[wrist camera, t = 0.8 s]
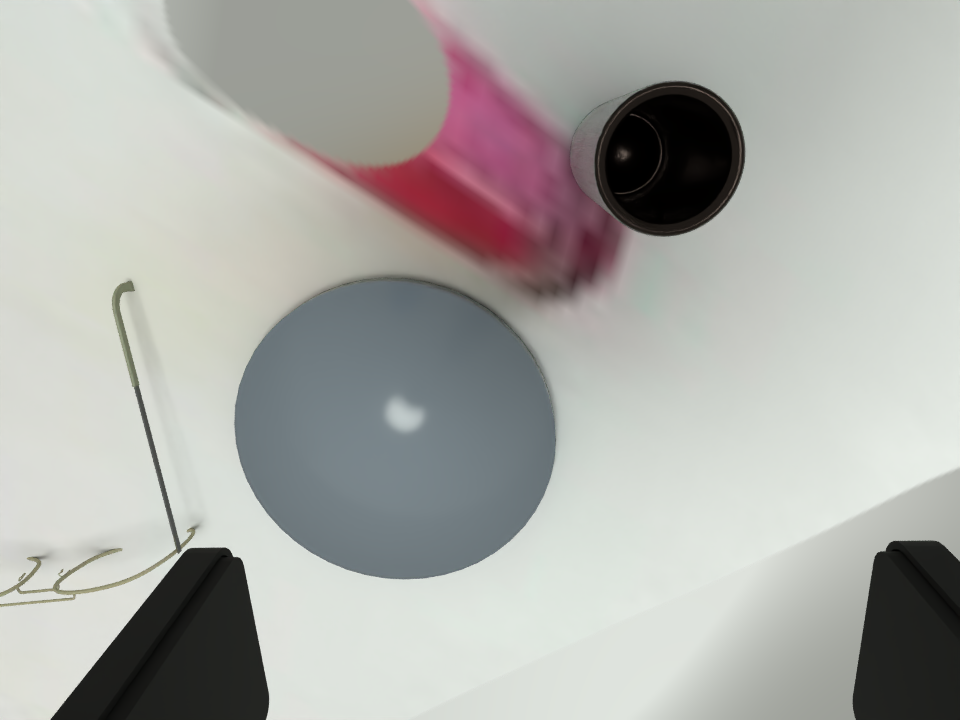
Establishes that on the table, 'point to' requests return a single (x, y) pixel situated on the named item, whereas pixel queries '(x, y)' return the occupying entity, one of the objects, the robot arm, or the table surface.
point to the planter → (660, 157)
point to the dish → (395, 428)
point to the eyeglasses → (135, 383)
